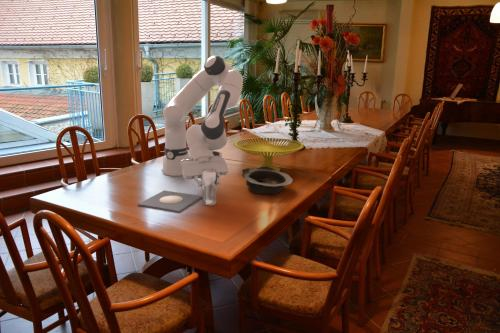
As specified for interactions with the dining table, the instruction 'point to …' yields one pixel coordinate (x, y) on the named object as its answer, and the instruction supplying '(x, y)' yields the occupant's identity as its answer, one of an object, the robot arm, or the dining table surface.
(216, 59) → the robot arm
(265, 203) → the dining table surface
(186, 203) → the place mat
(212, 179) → the beer glass
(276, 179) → the stone bowl
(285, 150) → the cake stand
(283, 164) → the dining table surface
